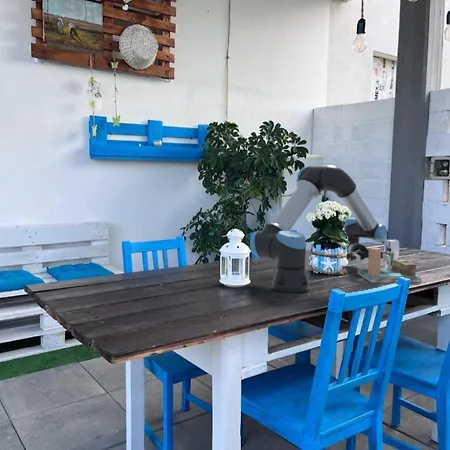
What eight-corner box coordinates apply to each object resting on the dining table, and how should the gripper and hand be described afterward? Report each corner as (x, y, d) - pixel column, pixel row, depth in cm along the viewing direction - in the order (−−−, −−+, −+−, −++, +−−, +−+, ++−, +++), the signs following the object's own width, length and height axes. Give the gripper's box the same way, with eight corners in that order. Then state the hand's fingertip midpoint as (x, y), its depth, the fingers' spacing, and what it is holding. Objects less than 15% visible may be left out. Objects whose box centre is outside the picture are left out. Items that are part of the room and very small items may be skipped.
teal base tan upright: (371, 279, 207) (372, 249, 206) (365, 275, 214) (366, 247, 212) (419, 278, 208) (421, 249, 207) (412, 275, 215) (413, 246, 214)
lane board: (372, 282, 206) (372, 277, 205) (357, 273, 225) (357, 269, 224) (421, 282, 207) (421, 277, 207) (402, 273, 226) (402, 268, 226)
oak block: (399, 272, 217) (399, 261, 217) (392, 270, 222) (392, 259, 222) (408, 271, 219) (408, 261, 218) (400, 269, 224) (401, 259, 223)
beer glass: (399, 272, 228) (400, 241, 226) (384, 271, 229) (385, 241, 228) (397, 269, 235) (398, 239, 233) (382, 268, 236) (383, 239, 235)
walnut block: (404, 275, 209) (405, 264, 208) (399, 273, 214) (400, 262, 213) (415, 275, 209) (416, 264, 209) (410, 273, 214) (410, 262, 214)
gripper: (382, 258, 234) (400, 266, 213) (333, 259, 232) (346, 267, 211) (382, 243, 233) (401, 250, 212) (333, 244, 231) (347, 250, 210)
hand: (374, 259), depth 212 cm, fingers open, 13 cm apart
